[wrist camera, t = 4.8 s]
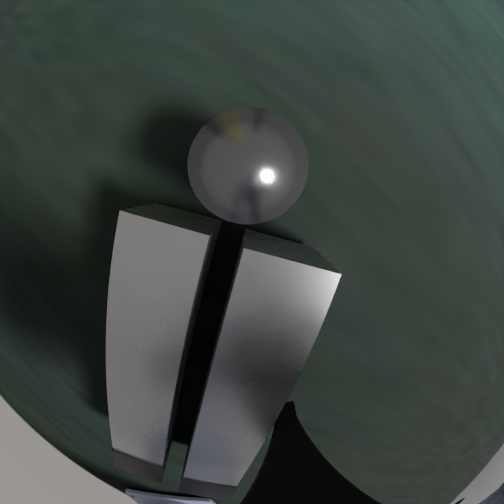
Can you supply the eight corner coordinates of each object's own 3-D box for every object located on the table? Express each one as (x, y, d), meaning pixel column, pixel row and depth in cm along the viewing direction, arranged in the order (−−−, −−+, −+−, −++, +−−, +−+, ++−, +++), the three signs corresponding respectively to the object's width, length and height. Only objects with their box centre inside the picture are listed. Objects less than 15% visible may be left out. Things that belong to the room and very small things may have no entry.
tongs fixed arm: (180, 118, 8) (146, 86, 5) (295, 148, 9) (321, 127, 5) (130, 428, 12) (113, 471, 8) (199, 449, 12) (192, 495, 9)
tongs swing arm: (244, 227, 9) (241, 247, 6) (314, 247, 9) (343, 275, 6) (187, 449, 12) (178, 491, 9) (230, 458, 12) (227, 500, 9)
